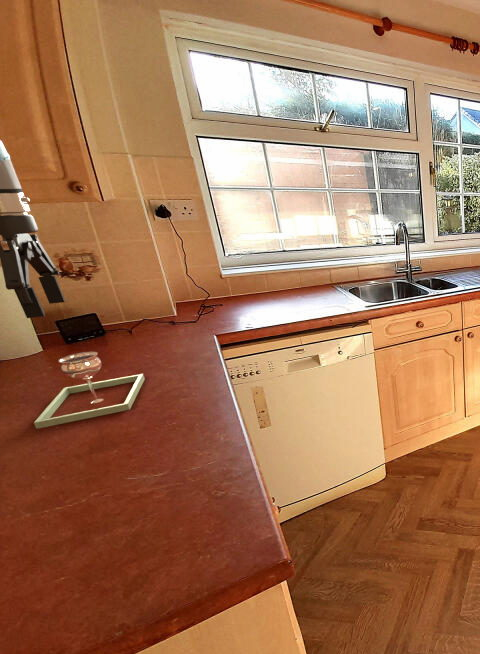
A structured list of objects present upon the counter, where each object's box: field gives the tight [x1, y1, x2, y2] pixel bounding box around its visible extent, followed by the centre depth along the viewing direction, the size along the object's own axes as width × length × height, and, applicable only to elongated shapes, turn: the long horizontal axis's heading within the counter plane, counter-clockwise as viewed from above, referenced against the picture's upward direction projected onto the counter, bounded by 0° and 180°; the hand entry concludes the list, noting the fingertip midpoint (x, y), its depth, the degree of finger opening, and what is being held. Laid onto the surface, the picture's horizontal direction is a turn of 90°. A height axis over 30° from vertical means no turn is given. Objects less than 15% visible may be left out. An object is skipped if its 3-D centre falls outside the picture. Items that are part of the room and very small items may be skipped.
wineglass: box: [58, 351, 104, 404], centre depth 100 cm, size 7×7×12 cm
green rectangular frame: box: [33, 373, 146, 430], centre depth 102 cm, size 16×20×3 cm
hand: (47, 309), depth 99 cm, fingers open, 13 cm apart
